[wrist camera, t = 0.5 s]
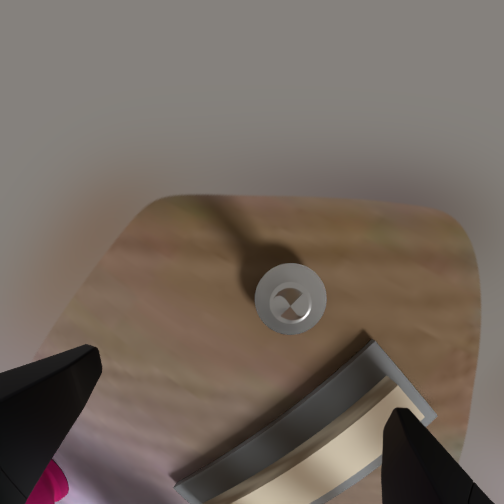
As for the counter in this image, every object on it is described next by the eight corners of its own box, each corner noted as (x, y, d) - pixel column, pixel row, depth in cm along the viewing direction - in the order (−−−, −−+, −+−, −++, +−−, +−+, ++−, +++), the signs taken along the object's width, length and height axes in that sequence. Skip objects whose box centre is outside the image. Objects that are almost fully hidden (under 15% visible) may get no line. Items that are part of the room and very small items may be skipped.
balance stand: (243, 538, 21) (237, 563, 17) (176, 482, 23) (162, 504, 19) (433, 412, 21) (451, 427, 17) (371, 339, 22) (385, 347, 19)
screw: (336, 297, 23) (290, 344, 23) (290, 252, 24) (244, 298, 24) (388, 303, 10) (288, 402, 10) (289, 206, 11) (191, 304, 11)
